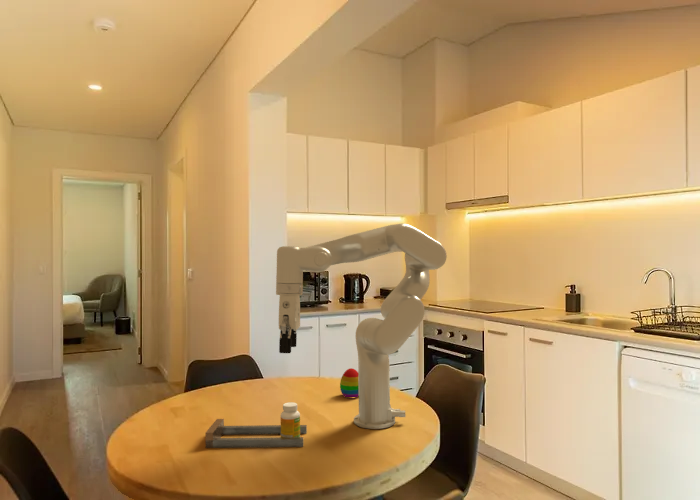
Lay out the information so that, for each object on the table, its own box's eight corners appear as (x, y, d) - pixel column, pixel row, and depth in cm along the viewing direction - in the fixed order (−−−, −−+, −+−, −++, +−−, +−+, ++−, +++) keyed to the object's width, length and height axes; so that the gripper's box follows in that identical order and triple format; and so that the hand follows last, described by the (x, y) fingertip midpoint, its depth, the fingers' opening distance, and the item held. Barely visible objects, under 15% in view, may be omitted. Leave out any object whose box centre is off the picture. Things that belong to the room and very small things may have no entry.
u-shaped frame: (306, 431, 141) (306, 418, 141) (302, 446, 130) (302, 431, 130) (216, 432, 141) (216, 418, 141) (205, 447, 130) (205, 432, 130)
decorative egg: (335, 395, 177) (335, 368, 177) (353, 391, 182) (353, 364, 182) (349, 400, 171) (348, 372, 171) (367, 396, 175) (367, 368, 176)
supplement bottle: (296, 443, 132) (296, 407, 132) (277, 442, 133) (277, 406, 133) (302, 436, 137) (302, 401, 138) (284, 435, 139) (284, 400, 139)
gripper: (298, 291, 130) (296, 356, 130) (306, 288, 147) (305, 345, 147) (270, 291, 130) (268, 355, 130) (281, 287, 148) (280, 344, 147)
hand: (288, 349), depth 138 cm, fingers open, 9 cm apart
